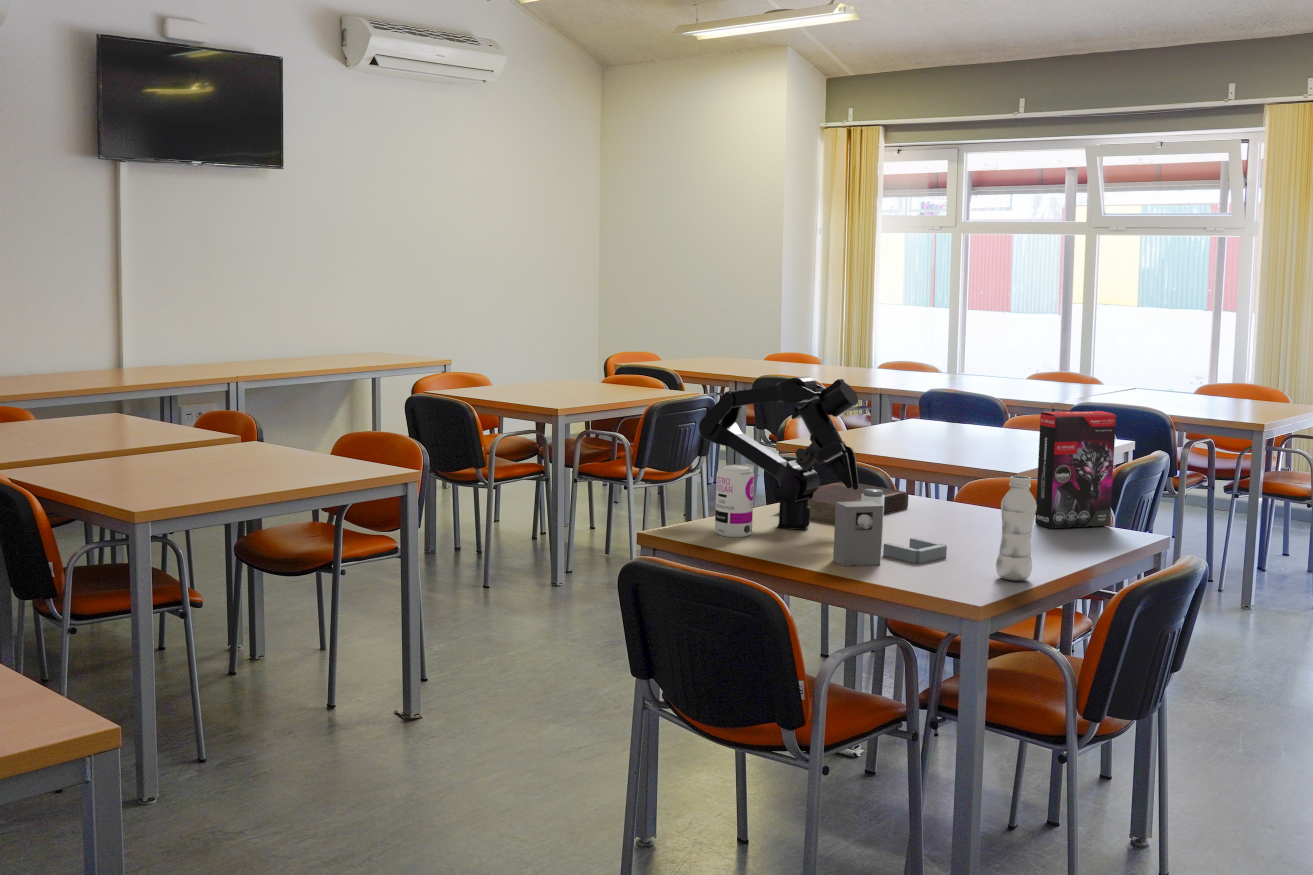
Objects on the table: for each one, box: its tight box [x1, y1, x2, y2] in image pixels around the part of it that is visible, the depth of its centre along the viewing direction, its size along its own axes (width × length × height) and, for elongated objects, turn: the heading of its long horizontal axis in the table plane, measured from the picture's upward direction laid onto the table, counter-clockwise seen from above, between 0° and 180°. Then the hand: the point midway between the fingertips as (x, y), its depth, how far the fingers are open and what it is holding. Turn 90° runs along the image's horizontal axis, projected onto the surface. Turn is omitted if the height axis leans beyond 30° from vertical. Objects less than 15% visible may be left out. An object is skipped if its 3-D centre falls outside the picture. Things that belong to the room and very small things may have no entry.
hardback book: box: [808, 481, 909, 523], centre depth 283 cm, size 29×19×5 cm, turn 138°
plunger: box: [856, 512, 873, 529], centre depth 229 cm, size 9×4×4 cm, turn 15°
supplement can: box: [714, 464, 755, 538], centre depth 252 cm, size 8×8×15 cm
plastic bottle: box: [995, 475, 1037, 582], centre depth 218 cm, size 6×7×20 cm
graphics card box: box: [1034, 410, 1117, 529], centre depth 270 cm, size 17×7×27 cm, turn 107°
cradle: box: [882, 537, 948, 564], centre depth 236 cm, size 9×10×2 cm
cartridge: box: [861, 489, 885, 548], centre depth 244 cm, size 5×5×12 cm
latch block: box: [832, 501, 884, 567], centre depth 229 cm, size 5×8×12 cm, turn 105°
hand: (853, 488), depth 252 cm, fingers open, 9 cm apart
